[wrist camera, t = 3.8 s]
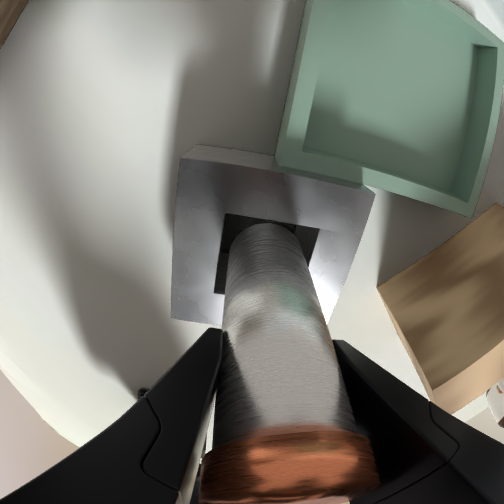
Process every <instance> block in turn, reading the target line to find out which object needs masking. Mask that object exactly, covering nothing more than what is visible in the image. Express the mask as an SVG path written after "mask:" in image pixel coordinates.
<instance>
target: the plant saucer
mask: <svg viewBox="0 0 504 504" xmlns="http://www.w3.org/2000/svg"><path fill="white" fill-rule="evenodd" d="M27 1H28V0H0V48H1V46H2V45H3V43H4V41H5V40H6V38H7V36H8V34H9V33H10V31H11V29H12V28H13V26H14V24H15V22H16V20H17V19H18V17H19V15H20V13H21V12H22V10H23V8H24V7H25V5H26V3H27Z"/></svg>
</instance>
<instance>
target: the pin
mask: <svg viewBox="0 0 504 504" xmlns="http://www.w3.org/2000/svg"><path fill="white" fill-rule="evenodd" d="M222 330H223V347H222V359H221V365H220V371H219V377H218V382H217V388H216V401H215V414H214V428H213V443H212V450H211V451H209V452H208V453H206V454H205V455H204V456H203V458H202V461H201V474H200V488H199V504H341V503H344V502H348V501H351V500H353V499H356V498H358V497H361V496H363V495H365V494H367V493H369V492H371V491H373V490H374V489H376V488H377V487H378V486H379V485H380V479H379V475H378V471H377V467H376V463H375V459H374V455H373V451H372V447H371V444H370V440H369V439H368V438H367V437H365V436H363V435H360V434H358V431H357V427H356V423H355V420H354V416H353V412H352V408H351V405H350V401H349V397H348V394H347V390H346V387H345V383H344V379H343V376H342V373H341V369H340V366H339V362H338V359H337V356H336V352H335V349H334V346H333V342H332V339H331V336H330V333H329V329H328V326H327V323H326V320H325V317H324V314H323V311H322V307H321V304H320V301H319V298H318V295H317V292H316V289H315V286H314V283H313V280H312V277H311V274H310V271H309V269H308V266H307V263H306V260H305V257H304V254H303V251H302V249H301V246H300V243H299V241H298V239H297V238H296V236H295V235H294V234H293V233H292V232H291V231H290V230H288V229H287V228H285V227H283V226H281V225H278V224H274V223H260V224H255V225H252V226H250V227H248V228H246V229H244V230H243V231H241V232H240V233H239V234H238V235H237V236H236V238H235V239H234V240H233V242H232V244H231V247H230V251H229V259H228V269H227V278H226V288H225V298H224V308H223V319H222Z"/></svg>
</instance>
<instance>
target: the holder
mask: <svg viewBox="0 0 504 504" xmlns="http://www.w3.org/2000/svg"><path fill="white" fill-rule="evenodd" d="M375 195H376V194H375V193H374V192H372V191H371V190H370V189H368V188H367V187H366V186H364V185H363V184H360V183H356V182H352V181H348V180H344V179H340V178H336V177H331V176H327V175H323V174H318V173H314V172H309V171H304V170H300V169H295V168H290V167H285V166H280V165H279V163H278V162H277V160H276V158H275V156H271V155H265V154H259V153H254V152H248V151H241V150H235V149H228V148H221V147H214V146H206V145H198V144H197V145H196V146H195V147H193V148H192V149H191V150H189V151H188V152H187V153H185V154H184V155H183V156H182V157H180V165H179V174H178V184H177V195H176V207H175V221H174V237H173V256H172V285H171V318H173V319H179V320H185V321H192V322H198V323H205V324H212V325H219V326H222V319H223V308H224V298H225V288H226V278H227V269H228V259H229V253H222V252H220V248H221V241H222V234H223V227H224V221H225V214H226V213H228V214H235V215H241V216H248V217H254V218H260V219H267V220H273V221H279V222H285V223H291V224H297V225H296V229H295V233H294V235H295V236H296V238H297V239H298V241H299V243H300V246H301V249H302V251H303V254H304V257H305V260H306V263H307V266H308V269H309V271H310V274H311V277H312V280H313V283H314V286H315V289H316V292H317V295H318V298H319V301H320V304H321V307H322V311H323V314H324V317H325V320H326V323H328V321H329V319H330V316H331V314H332V312H333V309H334V307H335V305H336V302H337V300H338V297H339V295H340V293H341V290H342V288H343V285H344V283H345V280H346V278H347V275H348V272H349V270H350V267H351V265H352V262H353V259H354V257H355V254H356V251H357V248H358V246H359V243H360V240H361V237H362V234H363V231H364V228H365V226H366V223H367V220H368V217H369V213H370V210H371V207H372V204H373V201H374V198H375Z"/></svg>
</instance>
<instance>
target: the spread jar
mask: <svg viewBox="0 0 504 504" xmlns="http://www.w3.org/2000/svg"><path fill="white" fill-rule="evenodd" d="M486 400H487V403H488V406H489V408H490V411H491V412H492V414H493V417H494V418H495V420H496V422H497V423H498V424H499V426H500V427H503V428H504V378H503V379H501V380H500V381H499V382H498V383H496V384H495V385H494V386H492V387H491V388H490V389H488V390H487V393H486Z"/></svg>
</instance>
